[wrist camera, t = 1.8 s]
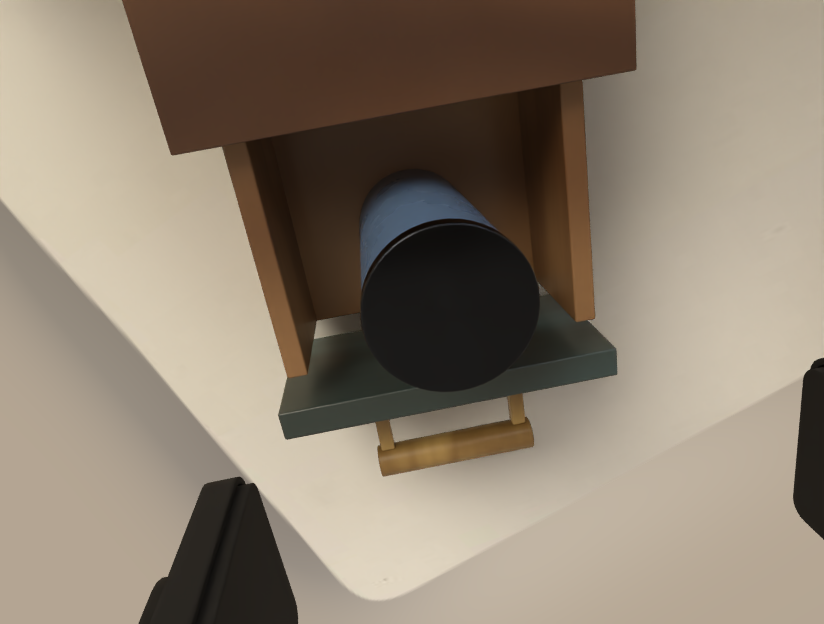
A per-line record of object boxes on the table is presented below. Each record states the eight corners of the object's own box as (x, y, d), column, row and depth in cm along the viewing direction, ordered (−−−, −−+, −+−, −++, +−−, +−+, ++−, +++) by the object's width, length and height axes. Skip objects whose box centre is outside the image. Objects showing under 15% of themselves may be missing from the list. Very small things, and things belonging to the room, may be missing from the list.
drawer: (566, 386, 31) (621, 463, 24) (319, 435, 30) (310, 526, 24) (536, -8, 24) (602, -42, 17) (215, 50, 23) (164, 36, 17)
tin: (347, 179, 25) (342, 242, 14) (459, 158, 25) (532, 206, 15) (369, 285, 26) (378, 407, 16) (473, 265, 27) (547, 375, 16)
